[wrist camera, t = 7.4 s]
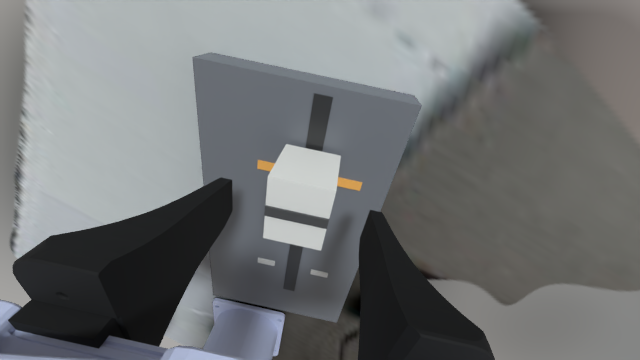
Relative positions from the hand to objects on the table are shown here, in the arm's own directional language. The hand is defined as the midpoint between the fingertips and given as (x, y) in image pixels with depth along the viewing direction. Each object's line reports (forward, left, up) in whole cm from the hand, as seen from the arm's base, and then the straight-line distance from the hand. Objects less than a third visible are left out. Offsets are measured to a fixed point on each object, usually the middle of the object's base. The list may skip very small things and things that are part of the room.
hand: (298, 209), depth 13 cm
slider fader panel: (-5, +1, -5) cm, 7 cm away
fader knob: (0, 0, -3) cm, 3 cm away
